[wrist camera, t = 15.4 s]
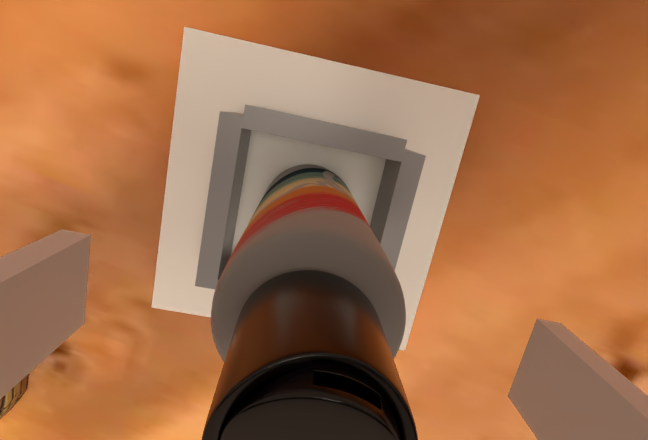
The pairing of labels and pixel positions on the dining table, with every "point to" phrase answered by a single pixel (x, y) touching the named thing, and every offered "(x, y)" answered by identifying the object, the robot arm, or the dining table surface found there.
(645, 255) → the dining table surface
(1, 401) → the wooden mug
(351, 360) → the lotion bottle
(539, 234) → the dining table surface
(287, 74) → the bottle holder
